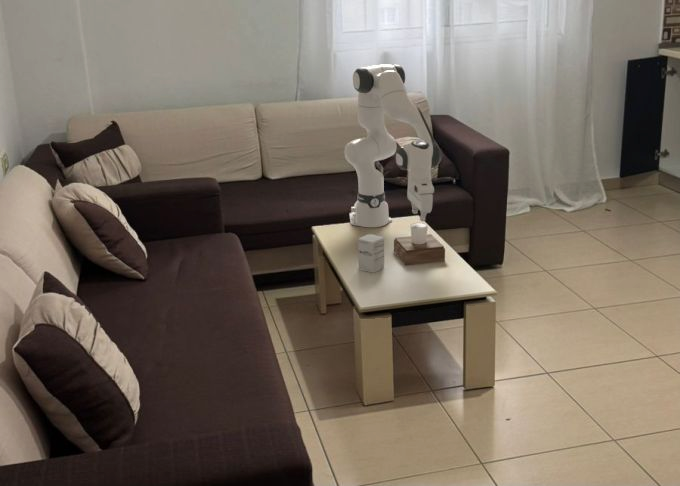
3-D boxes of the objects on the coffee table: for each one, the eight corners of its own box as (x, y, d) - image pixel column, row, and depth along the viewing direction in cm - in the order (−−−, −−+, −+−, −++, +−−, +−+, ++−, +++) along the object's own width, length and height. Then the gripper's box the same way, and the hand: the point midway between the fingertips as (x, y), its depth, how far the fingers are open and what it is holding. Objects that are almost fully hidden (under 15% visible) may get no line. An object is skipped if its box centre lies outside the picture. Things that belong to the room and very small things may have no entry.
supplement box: (357, 269, 330) (357, 238, 326) (369, 263, 336) (369, 233, 331) (373, 273, 326) (372, 242, 321) (384, 267, 331) (384, 236, 327)
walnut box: (393, 251, 348) (393, 237, 346) (431, 247, 351) (431, 233, 349) (405, 265, 333) (405, 250, 331) (444, 261, 336) (445, 246, 334)
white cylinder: (426, 245, 336) (426, 228, 334) (409, 244, 338) (409, 227, 335) (428, 239, 343) (428, 222, 340) (411, 238, 344) (411, 221, 342)
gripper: (403, 176, 341) (403, 209, 346) (419, 191, 322) (419, 226, 327) (418, 175, 342) (418, 208, 347) (435, 189, 323) (434, 224, 328)
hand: (418, 217), depth 337 cm, fingers open, 8 cm apart
